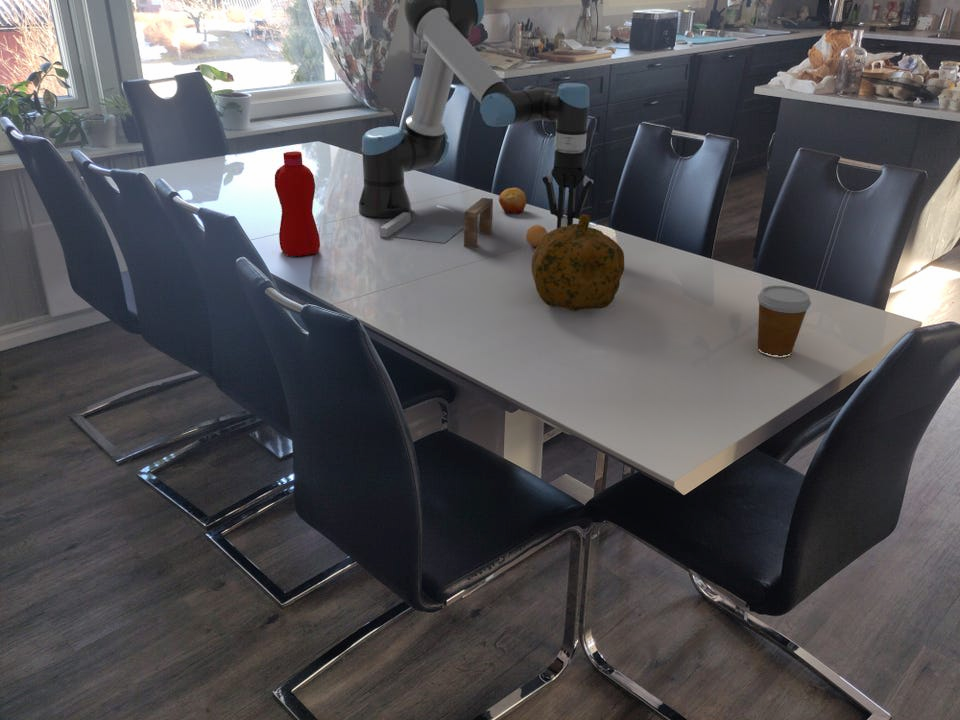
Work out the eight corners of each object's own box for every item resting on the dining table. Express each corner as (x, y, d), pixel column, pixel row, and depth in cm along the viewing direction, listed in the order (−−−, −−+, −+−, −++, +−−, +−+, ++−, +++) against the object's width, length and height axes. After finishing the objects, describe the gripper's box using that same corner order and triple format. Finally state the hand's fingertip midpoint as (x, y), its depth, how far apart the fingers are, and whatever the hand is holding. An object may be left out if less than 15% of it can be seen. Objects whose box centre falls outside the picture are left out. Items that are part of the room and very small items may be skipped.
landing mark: (395, 237, 221) (395, 236, 221) (415, 223, 233) (415, 222, 233) (444, 243, 217) (444, 242, 217) (462, 228, 229) (462, 228, 229)
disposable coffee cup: (741, 341, 165) (751, 284, 159) (787, 340, 165) (798, 284, 160) (759, 362, 156) (770, 303, 151) (808, 361, 157) (821, 302, 152)
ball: (523, 247, 215) (524, 227, 213) (529, 241, 220) (529, 221, 217) (544, 250, 214) (545, 229, 211) (549, 244, 218) (550, 223, 216)
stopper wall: (380, 236, 221) (379, 227, 220) (403, 220, 235) (403, 212, 234) (386, 237, 221) (386, 228, 220) (410, 221, 234) (410, 212, 233)
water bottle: (311, 242, 216) (304, 145, 205) (323, 255, 207) (316, 154, 196) (276, 246, 212) (267, 148, 201) (286, 259, 204) (277, 157, 193)
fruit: (526, 202, 249) (527, 183, 243) (525, 222, 245) (525, 203, 238) (500, 201, 250) (499, 182, 243) (498, 220, 246) (497, 201, 239)
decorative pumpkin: (505, 294, 183) (517, 205, 175) (575, 283, 195) (589, 199, 187) (565, 328, 169) (581, 233, 160) (636, 314, 181) (655, 225, 172)
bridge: (464, 246, 215) (464, 211, 211) (481, 230, 228) (482, 197, 224) (474, 247, 215) (475, 212, 211) (492, 231, 227) (492, 198, 223)
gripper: (540, 150, 202) (535, 243, 213) (593, 155, 199) (585, 249, 209) (547, 144, 209) (542, 235, 219) (599, 149, 205) (591, 240, 216)
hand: (563, 241), depth 214 cm, fingers closed
